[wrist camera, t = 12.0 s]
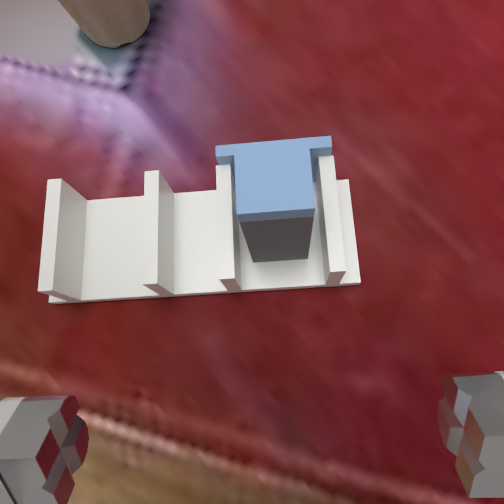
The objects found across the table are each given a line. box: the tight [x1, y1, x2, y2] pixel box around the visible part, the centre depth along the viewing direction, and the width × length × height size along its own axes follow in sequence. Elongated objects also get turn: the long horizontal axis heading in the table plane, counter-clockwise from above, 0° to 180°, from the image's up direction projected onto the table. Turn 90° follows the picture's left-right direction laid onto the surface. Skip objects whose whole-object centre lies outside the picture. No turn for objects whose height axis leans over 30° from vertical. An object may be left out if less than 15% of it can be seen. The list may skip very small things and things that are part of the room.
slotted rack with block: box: [38, 136, 361, 304], centre depth 30 cm, size 23×9×6 cm, turn 93°
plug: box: [234, 138, 315, 263], centre depth 27 cm, size 4×4×10 cm
